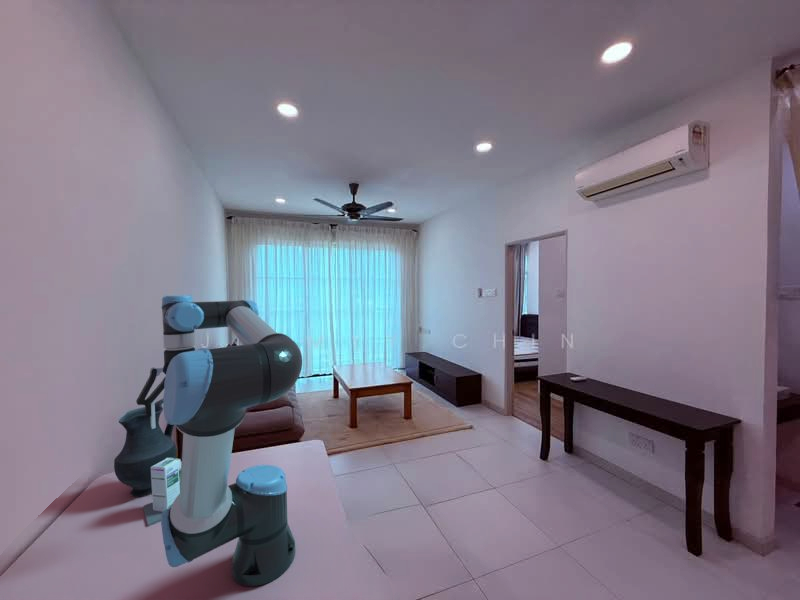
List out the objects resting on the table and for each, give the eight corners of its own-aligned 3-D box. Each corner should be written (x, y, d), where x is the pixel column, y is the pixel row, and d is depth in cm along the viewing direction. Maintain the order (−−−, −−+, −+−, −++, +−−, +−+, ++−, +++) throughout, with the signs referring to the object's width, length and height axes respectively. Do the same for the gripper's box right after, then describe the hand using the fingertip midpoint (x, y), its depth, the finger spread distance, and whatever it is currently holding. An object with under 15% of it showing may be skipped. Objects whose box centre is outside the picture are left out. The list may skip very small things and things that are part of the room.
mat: (194, 506, 103) (194, 504, 103) (147, 526, 95) (147, 524, 95) (186, 490, 112) (186, 489, 112) (143, 507, 103) (143, 505, 103)
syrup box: (167, 512, 100) (165, 467, 99) (152, 510, 101) (150, 466, 100) (183, 501, 105) (181, 458, 105) (168, 499, 106) (166, 456, 106)
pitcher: (102, 501, 107) (98, 414, 106) (159, 468, 127) (156, 394, 126) (145, 506, 104) (141, 416, 103) (196, 471, 124) (193, 396, 123)
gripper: (223, 341, 103) (225, 405, 104) (122, 352, 86) (125, 429, 86) (230, 343, 98) (232, 411, 99) (124, 356, 81) (127, 438, 81)
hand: (182, 419), depth 92 cm, fingers open, 13 cm apart
